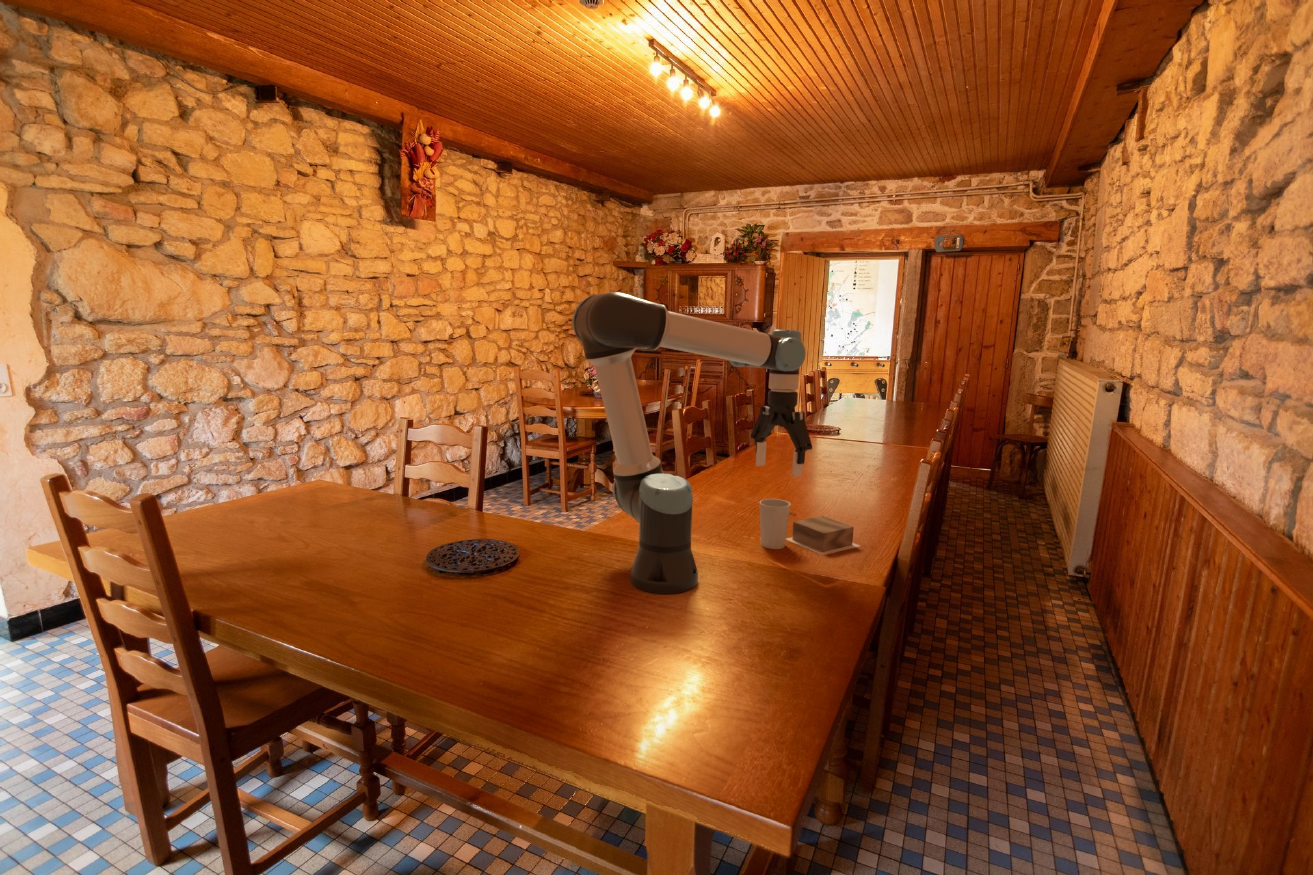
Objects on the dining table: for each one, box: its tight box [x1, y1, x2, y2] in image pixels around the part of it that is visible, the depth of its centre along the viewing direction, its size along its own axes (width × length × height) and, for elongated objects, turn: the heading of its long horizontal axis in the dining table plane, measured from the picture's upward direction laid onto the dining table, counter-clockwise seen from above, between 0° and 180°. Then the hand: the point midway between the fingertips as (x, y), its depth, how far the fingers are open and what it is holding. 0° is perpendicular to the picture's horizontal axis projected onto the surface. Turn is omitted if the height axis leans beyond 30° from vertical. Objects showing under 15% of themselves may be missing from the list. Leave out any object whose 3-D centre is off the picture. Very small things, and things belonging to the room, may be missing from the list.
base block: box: [792, 515, 854, 552], centre depth 164 cm, size 11×11×5 cm
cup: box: [759, 498, 791, 550], centre depth 161 cm, size 8×8×12 cm
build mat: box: [785, 536, 861, 556], centre depth 165 cm, size 14×14×1 cm
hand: (778, 470), depth 162 cm, fingers open, 13 cm apart
